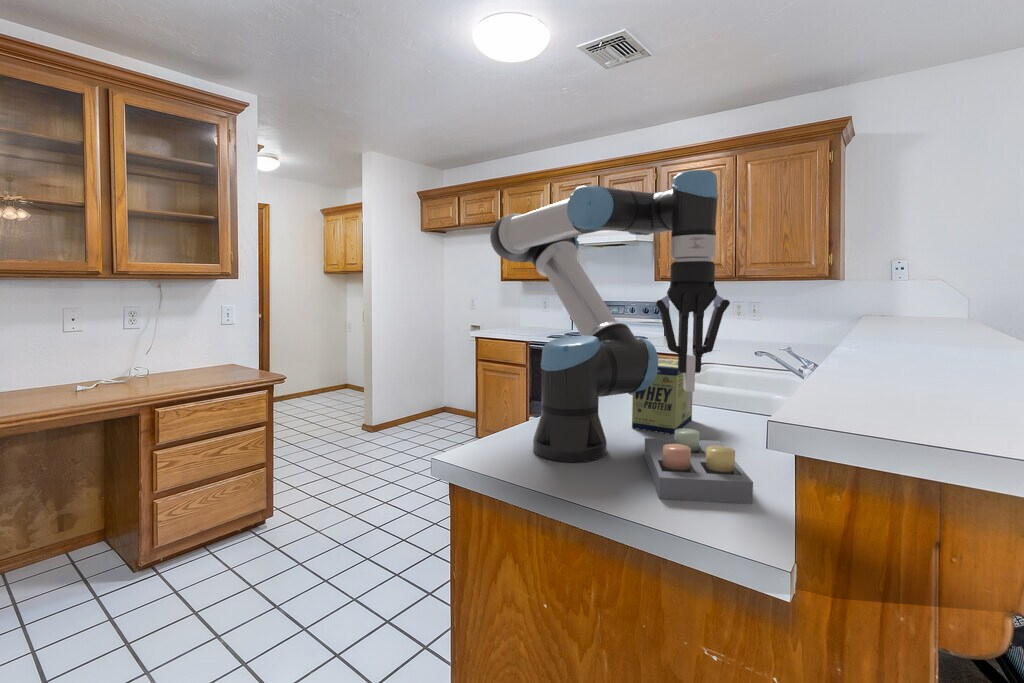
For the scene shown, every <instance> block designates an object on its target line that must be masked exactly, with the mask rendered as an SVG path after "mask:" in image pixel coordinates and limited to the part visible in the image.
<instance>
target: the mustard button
mask: <svg viewBox="0 0 1024 683" xmlns="http://www.w3.org/2000/svg"><path fill="white" fill-rule="evenodd" d="M735 461H736V450H735V449H734V448H732V447H730V446H726V445H725V446H724V445H722V446H717V445H714V446H708V447H707V449H706V467H707V468H709V469H711V470H714V471H719V472H731V471H734V469H735Z"/></svg>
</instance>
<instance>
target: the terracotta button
mask: <svg viewBox="0 0 1024 683" xmlns="http://www.w3.org/2000/svg"><path fill="white" fill-rule="evenodd" d="M690 459H691V448H690V447H688V446H685V445H681V444H666V445H664V446H663V465H664V466H665V467H667V468H670V469H675V470H685V469H689V468H690Z"/></svg>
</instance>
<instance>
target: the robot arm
mask: <svg viewBox="0 0 1024 683" xmlns="http://www.w3.org/2000/svg"><path fill="white" fill-rule="evenodd" d="M718 200H719V194H718V176H717V174H716V173H715V172H714V171H712V170H707V169H693V170H686V171H681V172H678V174H676V175H674V176H673V178H672V184H671V188H670V189H667V190H662V191H659V192H657V191H656V192H645V191H639V190H638V191H637V190H629V189H628V190H627V189H620V188H612V187H611V188H610V187H605V186H601V185H598V184H597V185H581V186H577V187H576V188H575V189H574V190H573V192H572V193H571V194H570V196H569V198H567V199H563V200H561V201H559V202H555V203H552V204H549V205H547V206H544V207H540V208H539V209H538V208H537V209H536V210H532V211H529V212H527V213H523V214H521V213H516V212H515V213H510V214H507V215H504V216H501V217H500V218H499V219H498V220H496V221H495V223H494V224H493V226H492V228H491V231H490V236H489V237H490V244H491V246H492V248H493V250H494V252H495V253H496V254H497V255H498V256H499V257H501V258H503V259H504V260H506V261H509V262H512V263H513V262H514V263H532V265H533V266H534V268H535V269H536V272H537V273H538V274H539V275H541V276H542V277H547V278H548V280H549V283H550V284H551V286H552V287H553V288H554V291H555V292H556V294H557V296H558V298H559V299H560V301H561V303H562V305H563V307H564V308H565V310H566V312H567V313H568V315H569V317H570V319H571V320H572V322H573V324H574V326H575V327H576V329H577V331H578V332H579V335H574V336H572V335H571V336H570V335H569V336H563V337H558V338H554V339H552V340H550V341H547V342H546V343H545V344H544V346H543V347H542V350H541V351H542V352H541V362H540V369H541V414H540V417H539V420H538V423H537V426H536V429H535V432H534V436H533V440H532V441H533V442H532V450H533V453H535V454H536V455H537V456H539V457H542V458H544V459H547V460H552V461H557V462H563V463H564V462H565V463H579V462H580V463H581V462H582V463H583V462H589V461H595V460H598V459H600V458H602V457H604V456H606V454H607V451H608V450H607V448H608V447H607V446H608V445H607V438H606V434H605V431H604V429H603V428H604V427H603V425H602V421H601V419H600V415H599V402H600V400H599V399H600V397H610V396H616V395H622V394H623V395H624V394H633V393H635V392H637V391H641V390H644V389H646V388H648V387H649V386H650V385H651V384H652V383H653V382H654V380H655V378H656V375H657V372H658V364H659V363H658V358H659V355H658V351H657V349H656V347H655V346H654V344H653V343H652V342H651V341H650V340H648V339H646V338H643V337H638V338H637V337H636V336H635V335H634V334H633V332H632V330H631V329H630V327H629V326H628V325H627V324H625V323H623V322H617V320H616V318H615V316H614V315H613V314H612V312H611V310H610V309H609V308H608V305H606V303H605V301H604V300H603V298H602V296H601V295H600V294H599V292H598V290H597V289H596V287H595V285H594V284H593V282H592V280H590V277H589V276H588V274H587V273H586V272H585V270H584V268H583V267H582V264H580V262H579V260H578V259H577V257H578V251H579V247H580V246H579V245H580V244H579V243H580V241H578V238H579V236H582V235H587V234H591V233H592V234H593V233H596V232H601V231H612V232H613V231H614V232H617V231H618V232H626V233H629V234H631V235H633V236H634V235H635V236H648V235H649V236H650V235H651V234H658V233H662V232H663V233H664V232H668V231H669V232H670V231H671V243H670V244H671V246H670V248H671V250H670V259H671V260H673V262H672V263H671V264H670V277H669V278H670V281H669V282H670V283H669V288H668V290H667V292H666V295H664V296H663V297H661V298H659V299H656V300H655V301H654V304H655V307H656V308H657V310H658V311H659V313H660V318H661V322H662V326H663V331H664V336H665V339H666V343H667V349H668V350H669V351H671V352H672V353H676V354H677V355H678V356H677V358H678V370H679V372H681V373H684V378H683V389H684V390H685V391H689V392H695V383H696V374H700V373H701V371H702V357H703V355H705V354H707V353H711V352H713V349H714V346H715V343H716V339H717V337H718V336H717V335H718V332H719V329H720V326H721V324H722V319H723V316H724V313H725V311H726V310H727V308H728V307H729V306H730V304H731V302H730V300H729V299H724V298H723V297H722V296H720V295H719V294H718V291H717V289H716V285H715V278H716V277H715V276H716V275H715V273H716V263H715V261H712V260H713V259H715V258H716V244H717V242H716V240H717V239H716V237H717V230H716V228H717V214H718V202H719V201H718ZM670 302H671V303H672V305H673V306H674V307H675V309H676V310H677V311H678V338H677V339H678V340H677V342H676V338H675V333H674V328H673V324H672V319H671V316H670V311H669V308H670ZM712 303H713V304H712ZM711 304H712V306H713V308H714V309H713V310H712V313H711V317H710V321H709V324H708V328H707V331H706V335H705V337H704V335H703V334H704V317H705V311H706V310H707V309H708V308H709V307H710V305H711ZM690 313H692V318H693V320H692V321H693V322H692V324H693V325H692V327H693V328H692V330H693V331H692V353H688V342H689V340H688V338H689V318H690ZM703 339H704V342H703Z"/></svg>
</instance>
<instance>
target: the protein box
mask: <svg viewBox="0 0 1024 683" xmlns="http://www.w3.org/2000/svg"><path fill="white" fill-rule="evenodd" d="M658 363H659V364H658V372H657V375H656V378H655V380H654V382H653V383H652V384H651V385H650V386H649V387H648V388H646V389H644V390H641V391H637V392H635V393H632V402H631V403H632V405H631V406H632V408H631V409H632V410H631V411H632V413H631V418H632V419H631V428H632V427H633V428H632V429H635V428H639V429H638V430H642V429H645V430H644V431H648V430H651V431H650V432H654V431H657V432H656V433H660V432H663V433H662V434H666V433H669V434H668V435H672V434H675V430H676V429H680V428H685V427H686V426H687V425H688V424H690V422H691V421H692V420H693V418H692V417H693V395H694V394H693V392H689V391H685V390H684V389H683V378H684V373H681V372H679V370H678V359H676V358H666V357H658Z"/></svg>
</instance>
